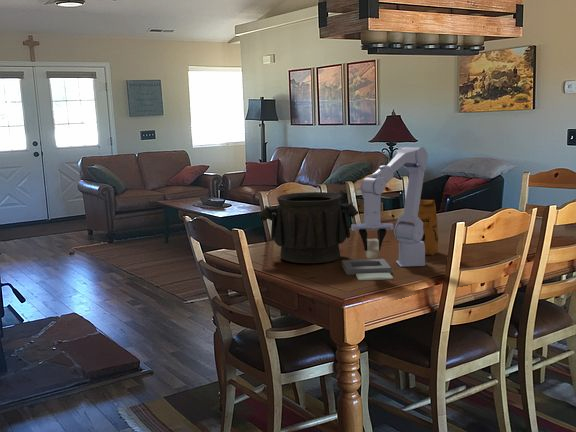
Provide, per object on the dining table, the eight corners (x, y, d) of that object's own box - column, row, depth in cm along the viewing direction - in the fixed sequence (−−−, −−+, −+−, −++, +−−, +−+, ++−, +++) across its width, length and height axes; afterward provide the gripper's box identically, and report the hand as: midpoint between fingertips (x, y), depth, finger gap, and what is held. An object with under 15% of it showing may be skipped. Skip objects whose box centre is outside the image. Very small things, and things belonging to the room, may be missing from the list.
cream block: (376, 255, 227) (376, 238, 226) (378, 257, 223) (378, 240, 222) (365, 255, 227) (365, 238, 226) (367, 258, 223) (367, 241, 222)
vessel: (255, 258, 256) (252, 197, 252) (313, 246, 276) (312, 188, 272) (305, 272, 233) (303, 204, 229) (365, 257, 253) (365, 195, 249)
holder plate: (383, 263, 242) (383, 258, 242) (391, 273, 228) (391, 267, 228) (341, 265, 241) (341, 260, 241) (346, 274, 228) (346, 269, 227)
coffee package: (432, 257, 251) (433, 201, 247) (403, 253, 258) (403, 199, 254) (441, 252, 259) (442, 198, 255) (413, 248, 266) (413, 196, 262)
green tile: (389, 274, 227) (389, 272, 227) (393, 279, 220) (393, 277, 220) (355, 275, 227) (355, 273, 227) (358, 280, 220) (358, 278, 220)
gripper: (353, 214, 217) (353, 253, 220) (395, 213, 218) (395, 251, 220) (350, 211, 224) (350, 248, 227) (391, 210, 225) (391, 247, 227)
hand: (372, 250), depth 224 cm, fingers closed on cream block, 4 cm apart
